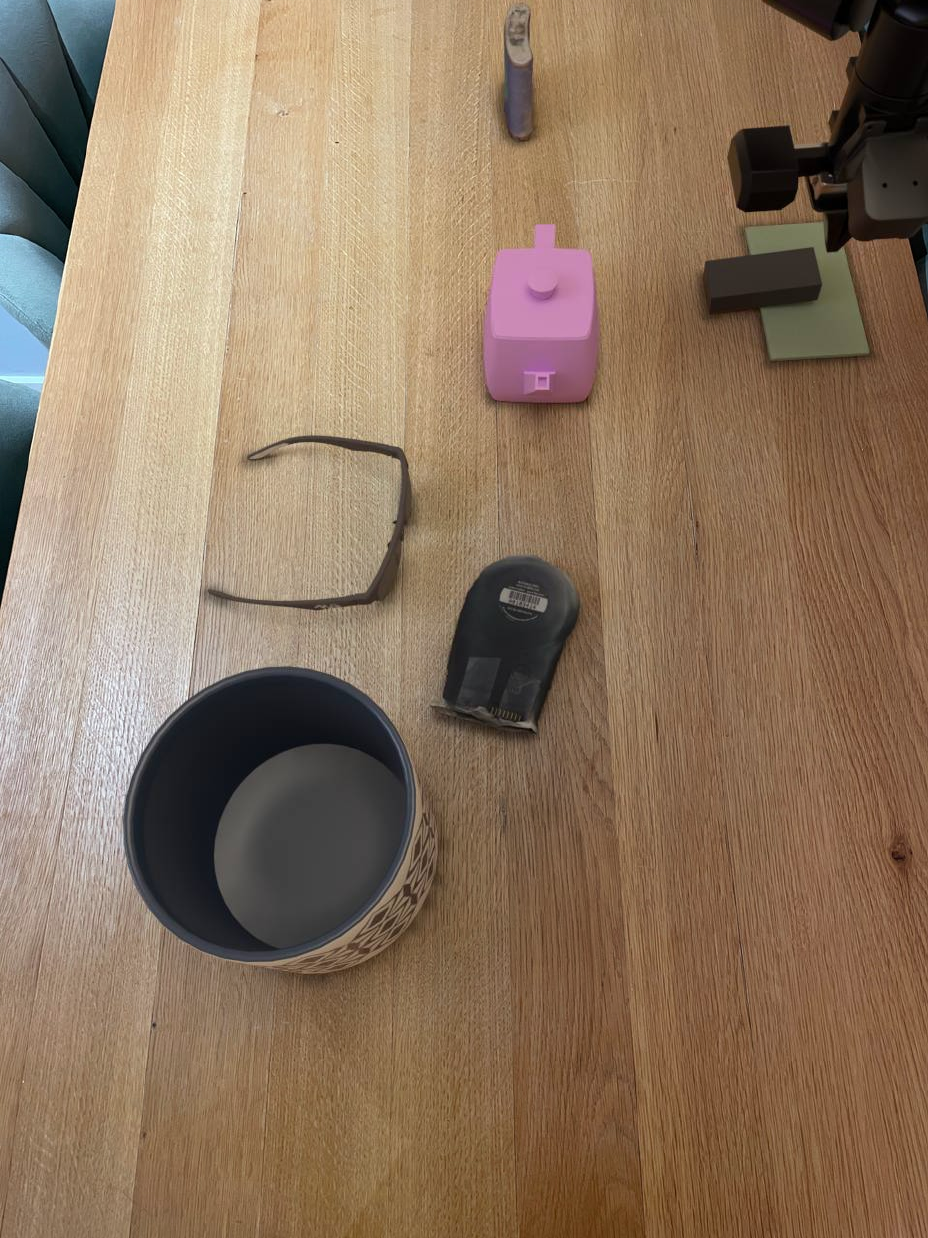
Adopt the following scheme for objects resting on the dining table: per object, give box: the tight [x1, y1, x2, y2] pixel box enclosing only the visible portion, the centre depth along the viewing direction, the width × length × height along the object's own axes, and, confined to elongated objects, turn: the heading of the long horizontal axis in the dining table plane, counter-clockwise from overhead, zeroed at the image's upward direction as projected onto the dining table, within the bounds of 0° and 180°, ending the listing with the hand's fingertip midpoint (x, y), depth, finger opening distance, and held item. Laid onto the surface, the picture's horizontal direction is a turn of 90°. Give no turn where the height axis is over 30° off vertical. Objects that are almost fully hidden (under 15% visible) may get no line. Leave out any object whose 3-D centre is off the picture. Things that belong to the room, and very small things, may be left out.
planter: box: [122, 665, 439, 975], centre depth 65 cm, size 18×18×16 cm
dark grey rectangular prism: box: [702, 247, 822, 314], centre depth 89 cm, size 2×4×10 cm
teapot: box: [483, 223, 600, 404], centre depth 84 cm, size 18×10×10 cm, turn 177°
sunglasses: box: [207, 434, 413, 611], centre depth 81 cm, size 16×17×5 cm
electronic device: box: [428, 554, 581, 737], centre depth 76 cm, size 9×6×15 cm
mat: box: [744, 221, 870, 362], centre depth 90 cm, size 16×9×1 cm, turn 2°
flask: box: [503, 2, 534, 142], centre depth 97 cm, size 9×3×11 cm, turn 1°
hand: (830, 248), depth 76 cm, fingers closed
